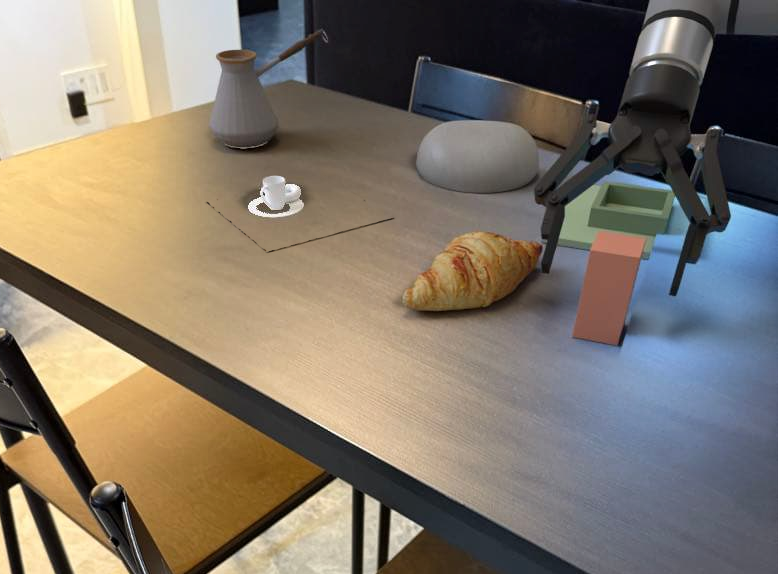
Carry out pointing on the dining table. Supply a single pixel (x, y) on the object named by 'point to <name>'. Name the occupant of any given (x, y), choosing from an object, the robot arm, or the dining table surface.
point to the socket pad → (616, 214)
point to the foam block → (608, 286)
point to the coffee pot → (246, 97)
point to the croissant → (473, 272)
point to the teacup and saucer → (277, 197)
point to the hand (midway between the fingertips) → (607, 280)
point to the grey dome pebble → (478, 156)
